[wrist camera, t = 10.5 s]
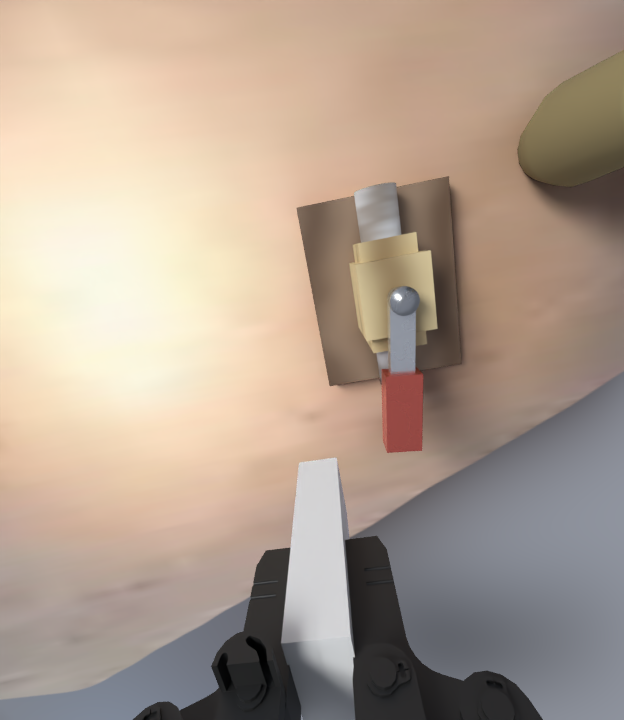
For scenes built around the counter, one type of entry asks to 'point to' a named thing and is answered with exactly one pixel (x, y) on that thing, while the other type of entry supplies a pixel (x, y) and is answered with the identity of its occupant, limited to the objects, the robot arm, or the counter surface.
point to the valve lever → (402, 375)
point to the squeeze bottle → (578, 128)
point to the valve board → (336, 283)
